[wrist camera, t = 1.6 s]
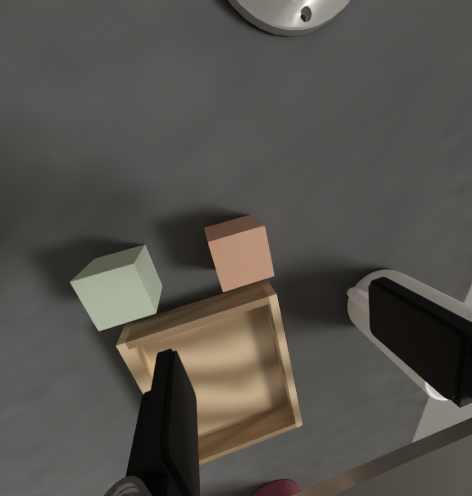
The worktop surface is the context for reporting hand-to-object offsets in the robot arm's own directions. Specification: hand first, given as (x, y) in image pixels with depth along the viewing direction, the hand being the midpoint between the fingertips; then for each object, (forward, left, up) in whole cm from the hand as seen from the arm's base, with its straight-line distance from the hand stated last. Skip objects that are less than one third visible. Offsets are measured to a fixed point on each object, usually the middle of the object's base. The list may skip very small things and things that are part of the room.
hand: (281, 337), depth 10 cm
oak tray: (+15, -5, -13) cm, 20 cm away
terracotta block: (0, 0, -13) cm, 13 cm away
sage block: (0, -10, -13) cm, 16 cm away
